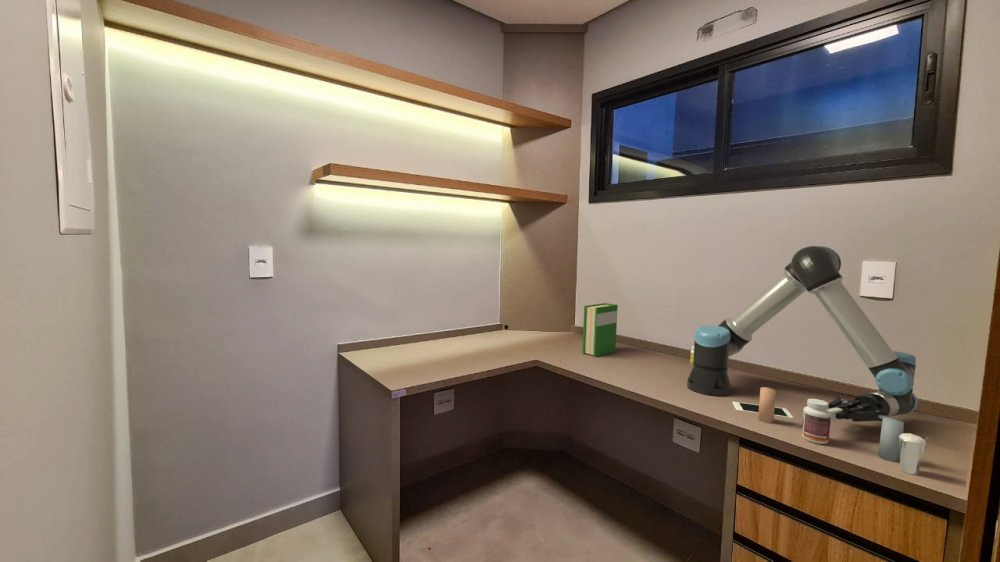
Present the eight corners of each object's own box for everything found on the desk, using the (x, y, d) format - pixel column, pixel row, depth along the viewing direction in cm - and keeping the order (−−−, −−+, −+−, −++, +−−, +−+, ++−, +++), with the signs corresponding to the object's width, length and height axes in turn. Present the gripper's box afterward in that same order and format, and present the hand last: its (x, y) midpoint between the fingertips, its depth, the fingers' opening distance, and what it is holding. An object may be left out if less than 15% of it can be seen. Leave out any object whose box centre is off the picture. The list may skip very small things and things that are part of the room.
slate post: (878, 457, 106) (882, 420, 105) (878, 452, 109) (882, 415, 108) (899, 463, 103) (904, 425, 102) (899, 458, 106) (904, 420, 105)
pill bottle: (834, 445, 112) (838, 406, 111) (810, 444, 113) (813, 405, 111) (818, 434, 118) (822, 398, 117) (796, 433, 119) (799, 397, 118)
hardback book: (594, 357, 196) (596, 307, 194) (582, 354, 202) (584, 305, 199) (615, 351, 208) (617, 304, 206) (603, 348, 213) (605, 303, 211)
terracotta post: (756, 420, 128) (759, 389, 127) (759, 416, 130) (762, 386, 130) (771, 424, 125) (774, 392, 124) (774, 420, 128) (777, 389, 127)
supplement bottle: (691, 362, 190) (692, 345, 189) (702, 364, 187) (703, 346, 186) (688, 365, 186) (689, 347, 186) (699, 367, 184) (700, 348, 183)
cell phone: (731, 402, 142) (731, 401, 142) (785, 410, 137) (786, 408, 137) (736, 411, 135) (736, 409, 135) (793, 419, 130) (793, 417, 130)
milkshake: (930, 478, 97) (935, 438, 96) (901, 473, 98) (906, 433, 98) (919, 469, 101) (924, 430, 100) (891, 464, 103) (896, 426, 102)
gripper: (901, 426, 118) (850, 439, 110) (849, 409, 131) (799, 419, 122) (904, 401, 118) (853, 412, 109) (851, 386, 130) (802, 394, 121)
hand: (825, 415), depth 116 cm, fingers closed
